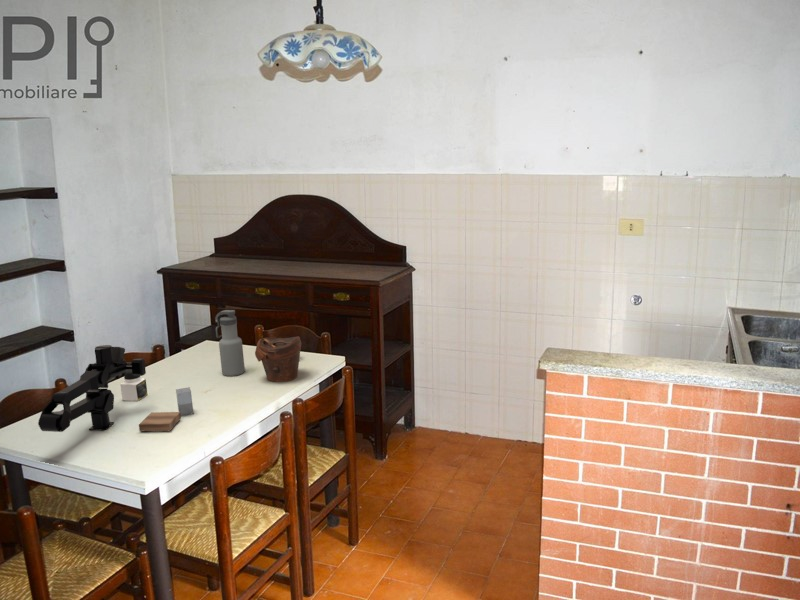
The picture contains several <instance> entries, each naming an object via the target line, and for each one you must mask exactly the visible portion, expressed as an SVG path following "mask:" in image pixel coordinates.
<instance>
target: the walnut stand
mask: <svg viewBox="0 0 800 600" xmlns="http://www.w3.org/2000/svg"><path fill="white" fill-rule="evenodd" d="M181 419H182V416H181V413H180V412H179V411H169V412H168V411H167V412H166V411H163V412H162V411H161V412H157V411H156V412H154V411H153V412H150V413H149V414H148V415H147V416H146V417H145V418H144V419H143V420H142V421H141V422H139V424H138V430H139V432H168V431H171V430H172V429H173V427H175V426H176V424H177V423H178V422H179V421H180V420H181Z"/></svg>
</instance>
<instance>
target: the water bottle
mask: <svg viewBox="0 0 800 600" xmlns="http://www.w3.org/2000/svg"><path fill="white" fill-rule="evenodd" d="M235 314H236V310H235V309H224V310H221V311H219V312H217V314H216V315H215V317H214V319H215V323H217V326H215V337H216V339H220V338H221V339H220V340H219V342H218V347H219V357H220V367H221V374H222V375H223V376H226V377H235V376H236V377H237V376H239V375H242V374H243V373H245V359H244V357H245V356H244V349H243V340H242V338H241V337H239V336H238V326H237V324H238V320H237V316H236V315H235ZM219 328H221V329H220V330H221V331H220V332H221V335H219V333H218V329H219Z"/></svg>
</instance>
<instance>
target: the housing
mask: <svg viewBox="0 0 800 600" xmlns="http://www.w3.org/2000/svg"><path fill="white" fill-rule="evenodd" d="M175 394H176V401H177V409H178V411H177V412H180V413H181V417H185V416H190V415H194V406H193V398H192V391H191V387H189V386H188V387H183V388H177V389H175Z"/></svg>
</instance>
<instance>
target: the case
mask: <svg viewBox="0 0 800 600" xmlns="http://www.w3.org/2000/svg"><path fill="white" fill-rule="evenodd" d="M255 347H256V348H255V351H254V354H255V357H256V359H257V361H258V362H262V366H263V370H264V372H265V376H266V379H267V380H268V381H270V382H276V383H277V382H280V383H281V382H289V381H292V380H294V379H296V378H297V377H298V373H299V364H300V359H301V358H300V356H301V350H302V341H301V338H300V336H291V337H285V338H282V337H264V338H260V339H259V340H258V341H257V343H256V346H255Z"/></svg>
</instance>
